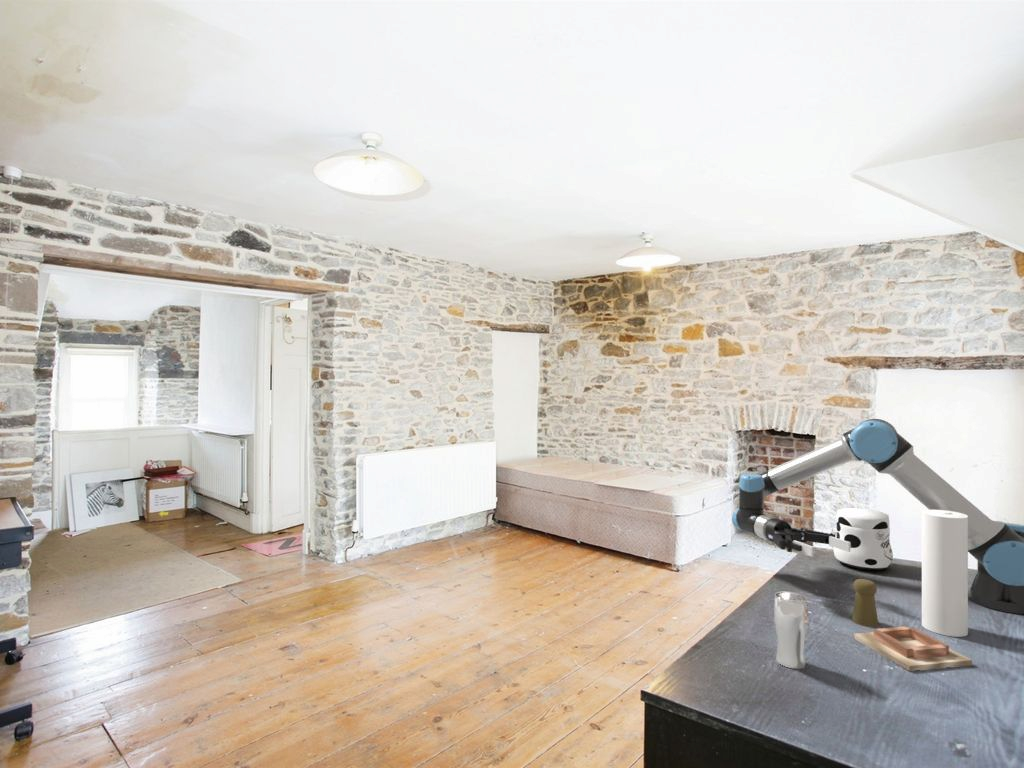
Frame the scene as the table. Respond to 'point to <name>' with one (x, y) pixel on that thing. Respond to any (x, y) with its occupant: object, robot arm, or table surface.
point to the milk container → (864, 538)
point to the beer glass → (790, 628)
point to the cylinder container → (945, 572)
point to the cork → (865, 603)
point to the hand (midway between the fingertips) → (831, 549)
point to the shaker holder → (912, 648)
